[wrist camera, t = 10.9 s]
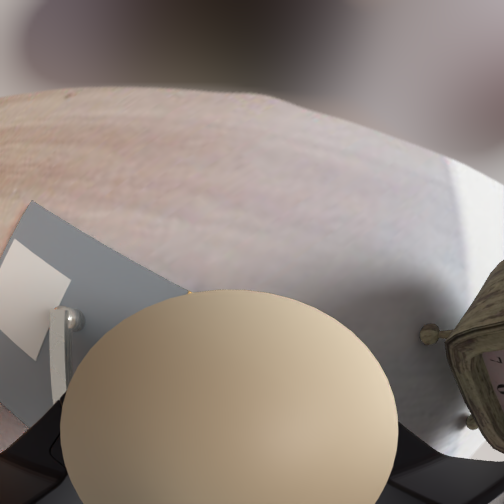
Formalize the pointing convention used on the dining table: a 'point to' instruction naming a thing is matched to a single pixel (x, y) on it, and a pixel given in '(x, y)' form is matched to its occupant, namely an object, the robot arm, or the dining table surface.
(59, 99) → the dining table surface
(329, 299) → the dining table surface
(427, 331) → the tabletop clock
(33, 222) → the board
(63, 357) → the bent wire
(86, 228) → the dining table surface
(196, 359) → the peg
